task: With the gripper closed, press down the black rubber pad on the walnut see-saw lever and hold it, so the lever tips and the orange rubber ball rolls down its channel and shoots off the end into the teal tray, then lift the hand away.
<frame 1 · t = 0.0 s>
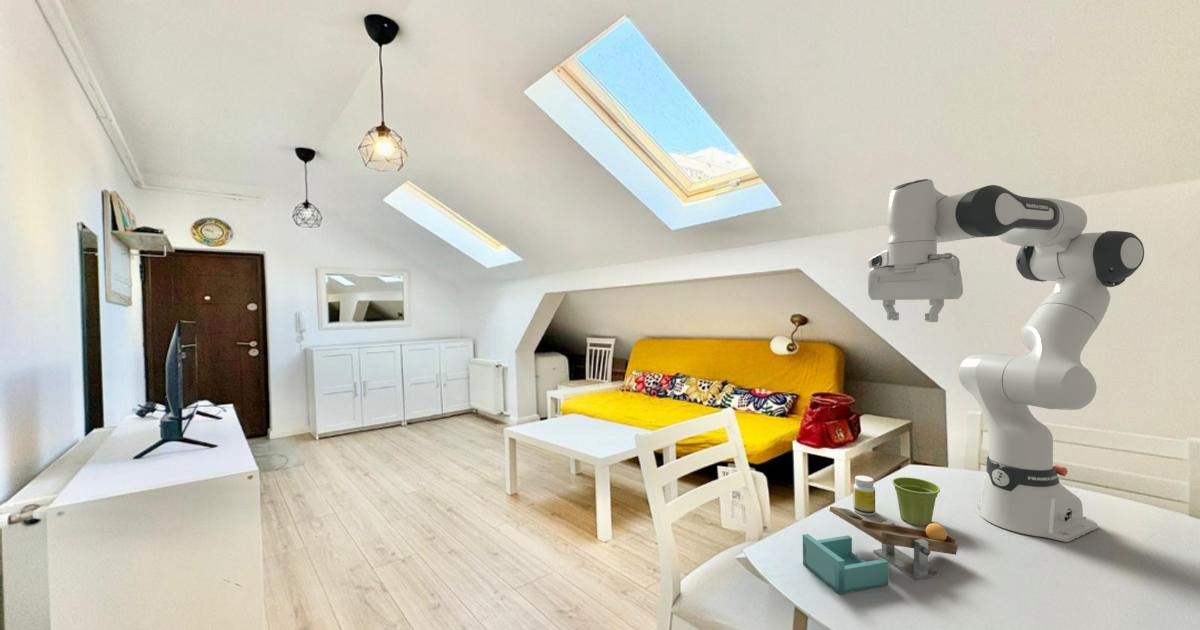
hand: (911, 321, 100), 48 cm above the table, fingers open, 8 cm apart
ball: (936, 532, 94), point 5 cm above the table, tilted 6°, touching lever
supplement bottle: (864, 512, 116), on the table
teal tray: (843, 574, 90), on the table
fulcrum: (903, 563, 93), on the table
plant pot: (915, 521, 111), on the table
lever: (890, 525, 97), point 6 cm above the table, hinge at -15.0°, touching ball
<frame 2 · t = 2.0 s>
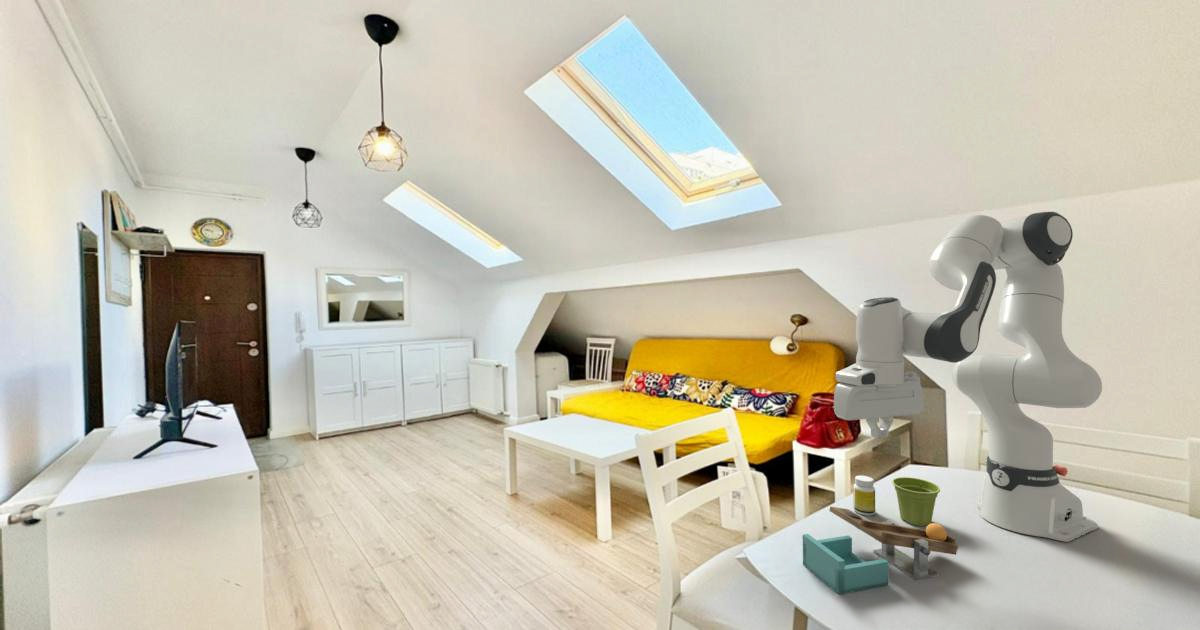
hand: (879, 436, 100), 23 cm above the table, fingers closed
nothing on the table moved.
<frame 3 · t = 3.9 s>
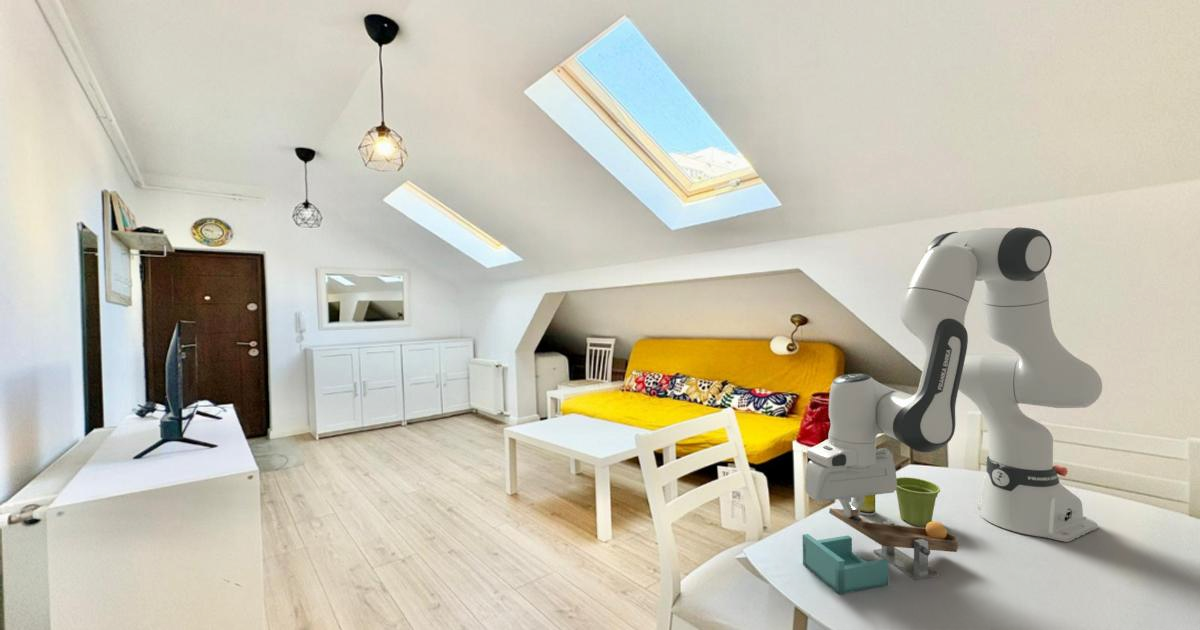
hand: (851, 515, 98), 7 cm above the table, fingers closed, pressing on lever
lever: (890, 524, 97), point 6 cm above the table, hinge at -11.8°, touching ball, gripper
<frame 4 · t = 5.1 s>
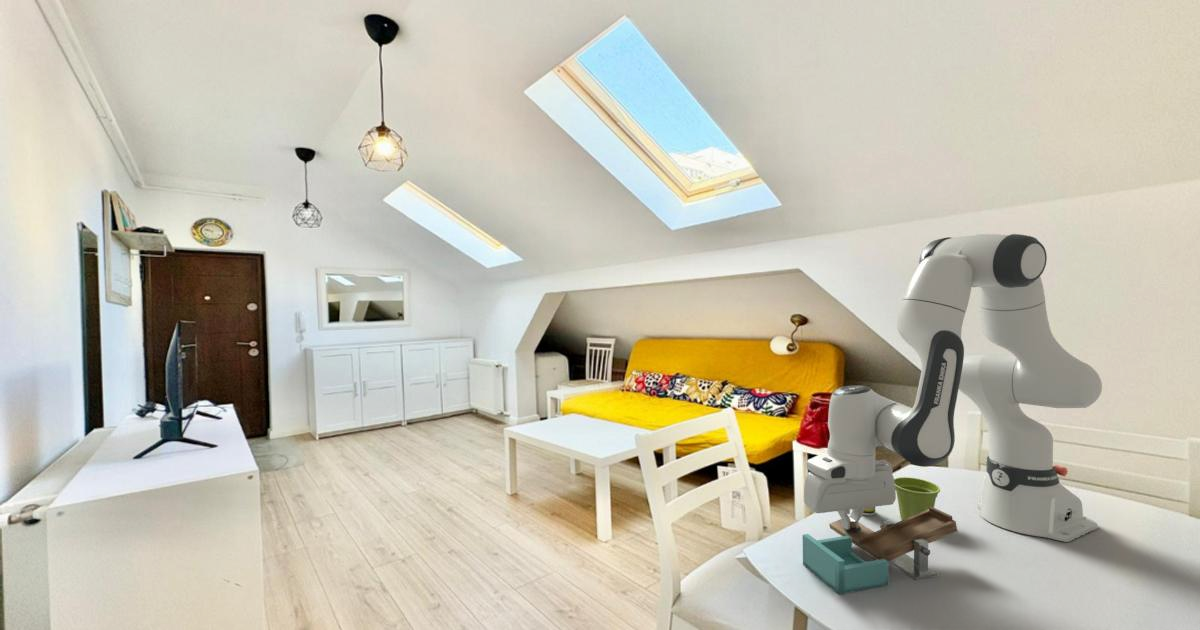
hand: (850, 527, 98), 5 cm above the table, fingers closed
ball: (833, 563, 89), point 2 cm above the table, tilted 104°, touching teal tray
lever: (889, 523, 97), point 6 cm above the table, hinge at 13.0°, touching gripper
everything else where it was.
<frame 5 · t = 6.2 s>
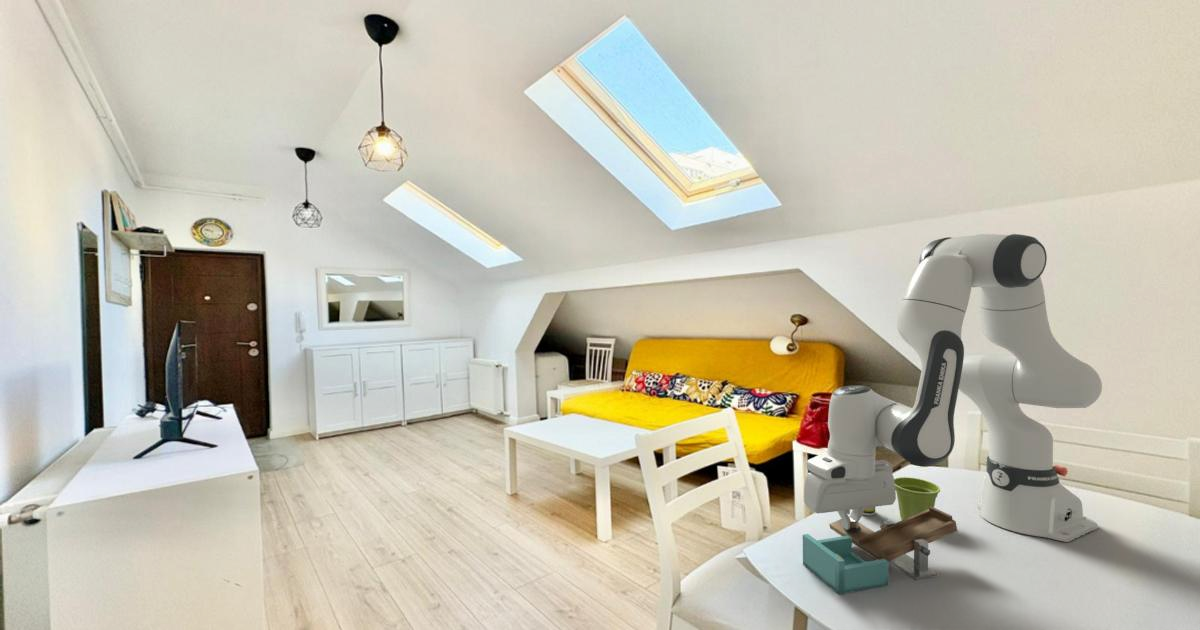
hand: (850, 527, 98), 5 cm above the table, fingers closed
ball: (835, 563, 89), point 2 cm above the table, tilted 90°, touching teal tray
everything else where it was.
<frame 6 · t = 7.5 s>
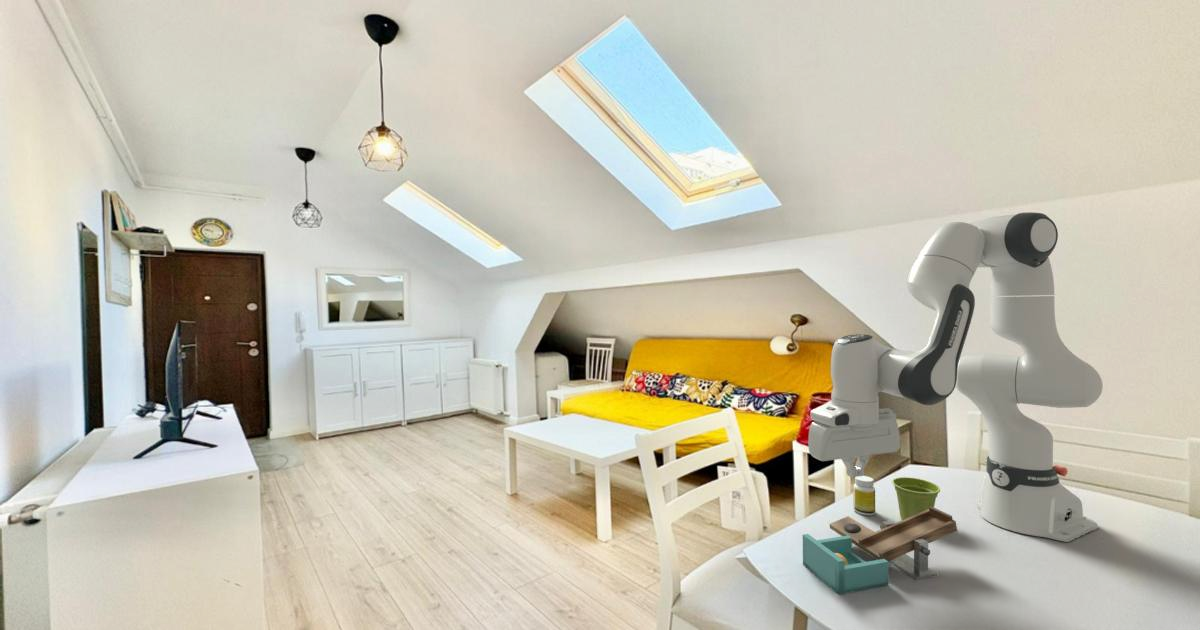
hand: (855, 475, 99), 15 cm above the table, fingers closed
ball: (837, 563, 89), point 2 cm above the table, tilted 73°, touching teal tray
lever: (889, 523, 97), point 6 cm above the table, hinge at 13.2°
everything else where it was.
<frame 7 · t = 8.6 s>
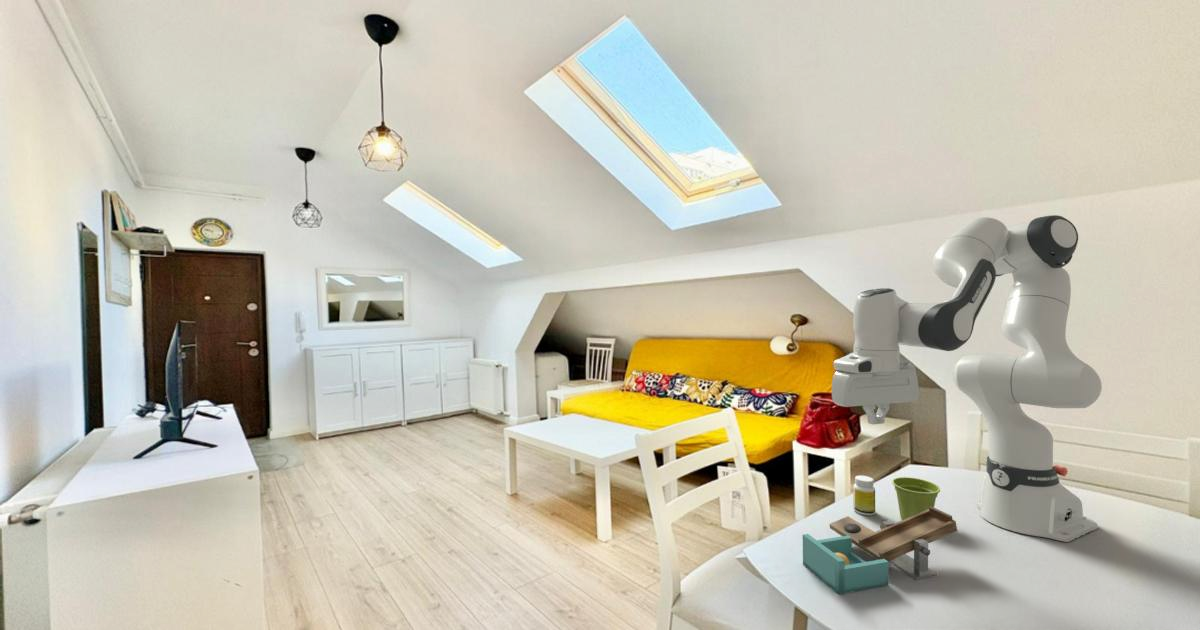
hand: (876, 423, 104), 25 cm above the table, fingers closed
ball: (839, 562, 89), point 2 cm above the table, tilted 59°, touching teal tray
everything else where it was.
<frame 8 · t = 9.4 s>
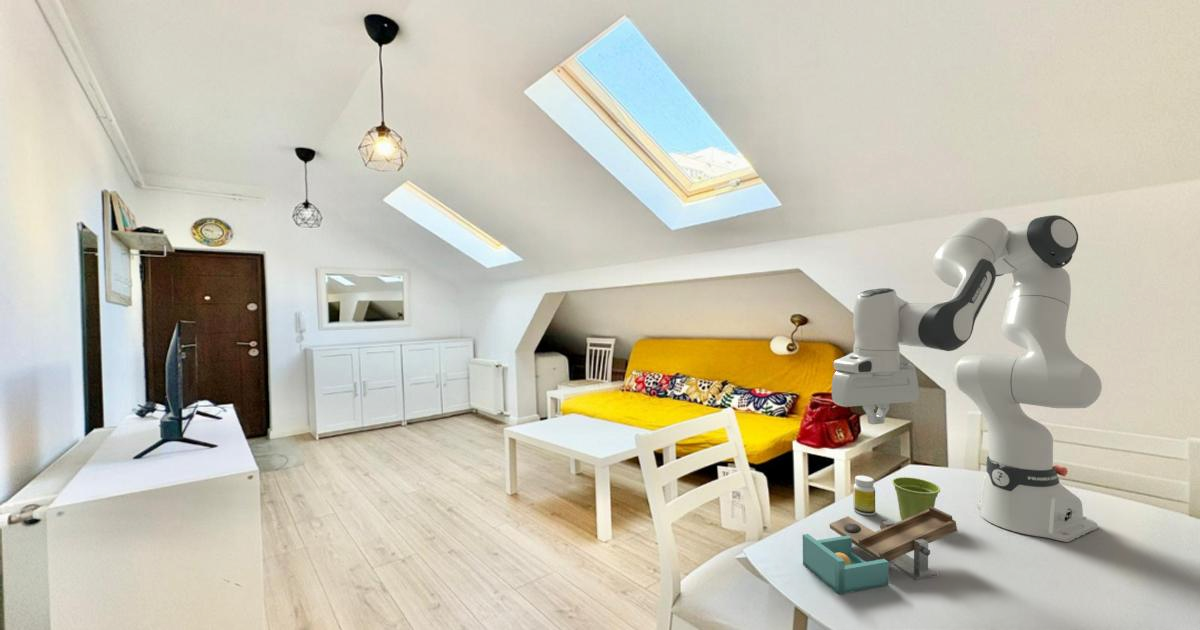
hand: (876, 423, 104), 25 cm above the table, fingers closed
ball: (840, 562, 89), point 2 cm above the table, tilted 48°, touching teal tray
everything else where it was.
at the end: ball inside the target area on the teal tray (0.7 cm from its centre), point 2.3 cm above the teal tray's base; ball touching teal tray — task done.
